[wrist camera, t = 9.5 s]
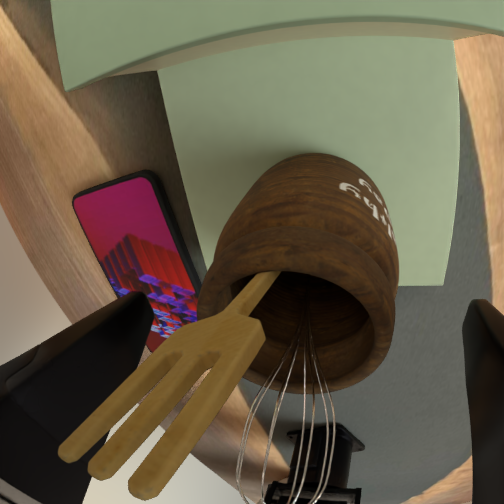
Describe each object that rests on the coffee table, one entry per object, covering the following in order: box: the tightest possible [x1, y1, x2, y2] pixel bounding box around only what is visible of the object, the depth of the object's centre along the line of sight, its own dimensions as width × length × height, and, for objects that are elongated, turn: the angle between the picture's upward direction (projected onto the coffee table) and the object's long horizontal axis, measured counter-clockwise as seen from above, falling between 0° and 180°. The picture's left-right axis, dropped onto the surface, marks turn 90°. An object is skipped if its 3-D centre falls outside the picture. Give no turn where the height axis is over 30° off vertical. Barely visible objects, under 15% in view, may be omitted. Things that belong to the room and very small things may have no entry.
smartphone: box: [72, 170, 202, 353], centre depth 21 cm, size 8×1×15 cm
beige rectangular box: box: [50, 0, 504, 286], centre depth 10 cm, size 16×12×8 cm
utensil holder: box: [58, 153, 399, 504], centre depth 8 cm, size 6×6×12 cm
